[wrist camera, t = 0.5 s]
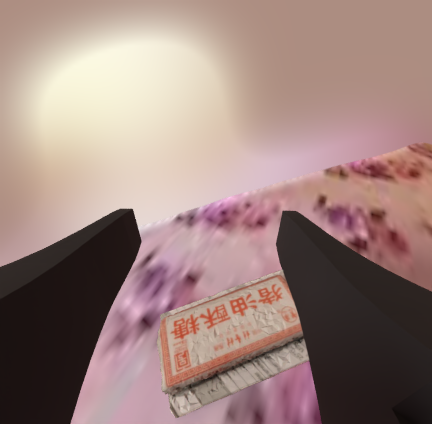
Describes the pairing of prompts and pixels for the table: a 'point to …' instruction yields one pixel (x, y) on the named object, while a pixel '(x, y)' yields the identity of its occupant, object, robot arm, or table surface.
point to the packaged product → (229, 342)
